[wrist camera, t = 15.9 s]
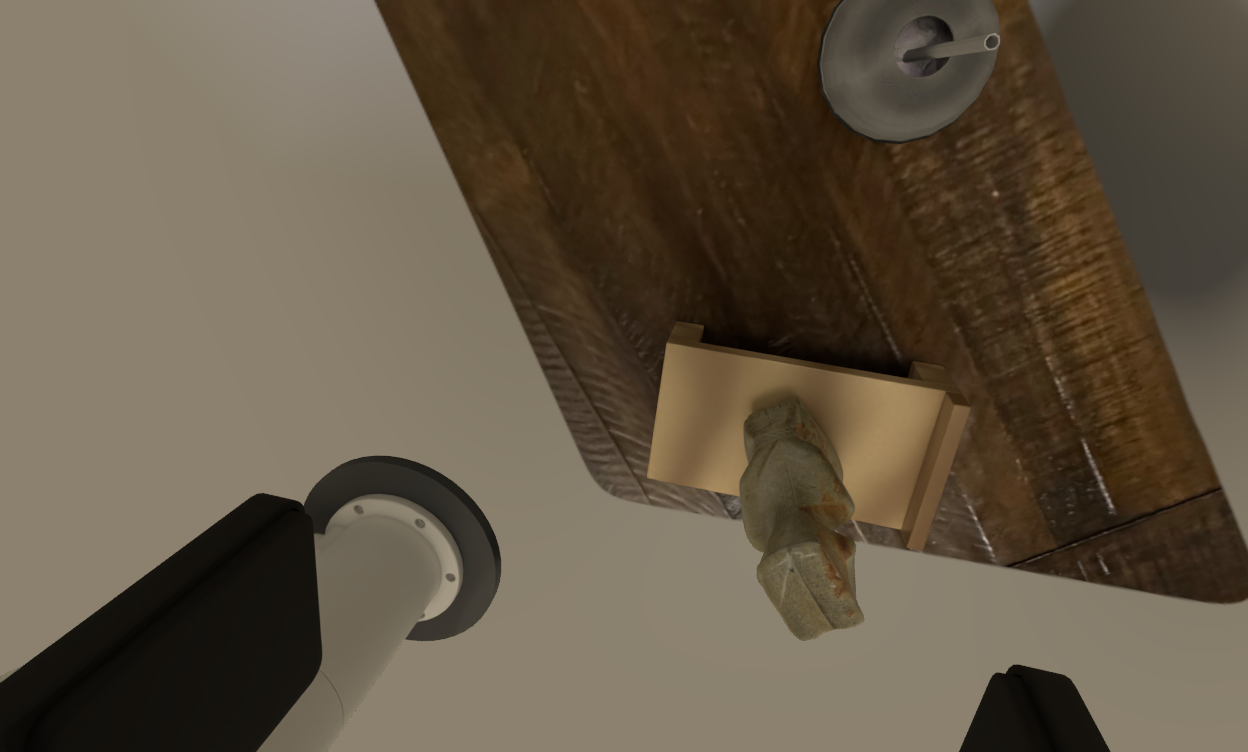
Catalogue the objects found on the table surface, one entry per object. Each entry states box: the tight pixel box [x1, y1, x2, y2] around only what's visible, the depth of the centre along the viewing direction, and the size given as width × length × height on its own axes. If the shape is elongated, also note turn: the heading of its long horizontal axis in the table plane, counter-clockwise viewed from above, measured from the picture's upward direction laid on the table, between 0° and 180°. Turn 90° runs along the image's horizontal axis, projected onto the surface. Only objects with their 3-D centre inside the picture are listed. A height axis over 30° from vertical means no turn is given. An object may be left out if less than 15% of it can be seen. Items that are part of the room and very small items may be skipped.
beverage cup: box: [817, 0, 1000, 144], centre depth 31 cm, size 7×7×20 cm
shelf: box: [647, 321, 971, 550], centre depth 45 cm, size 18×10×7 cm, turn 83°
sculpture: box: [739, 397, 864, 641], centre depth 37 cm, size 6×7×15 cm
